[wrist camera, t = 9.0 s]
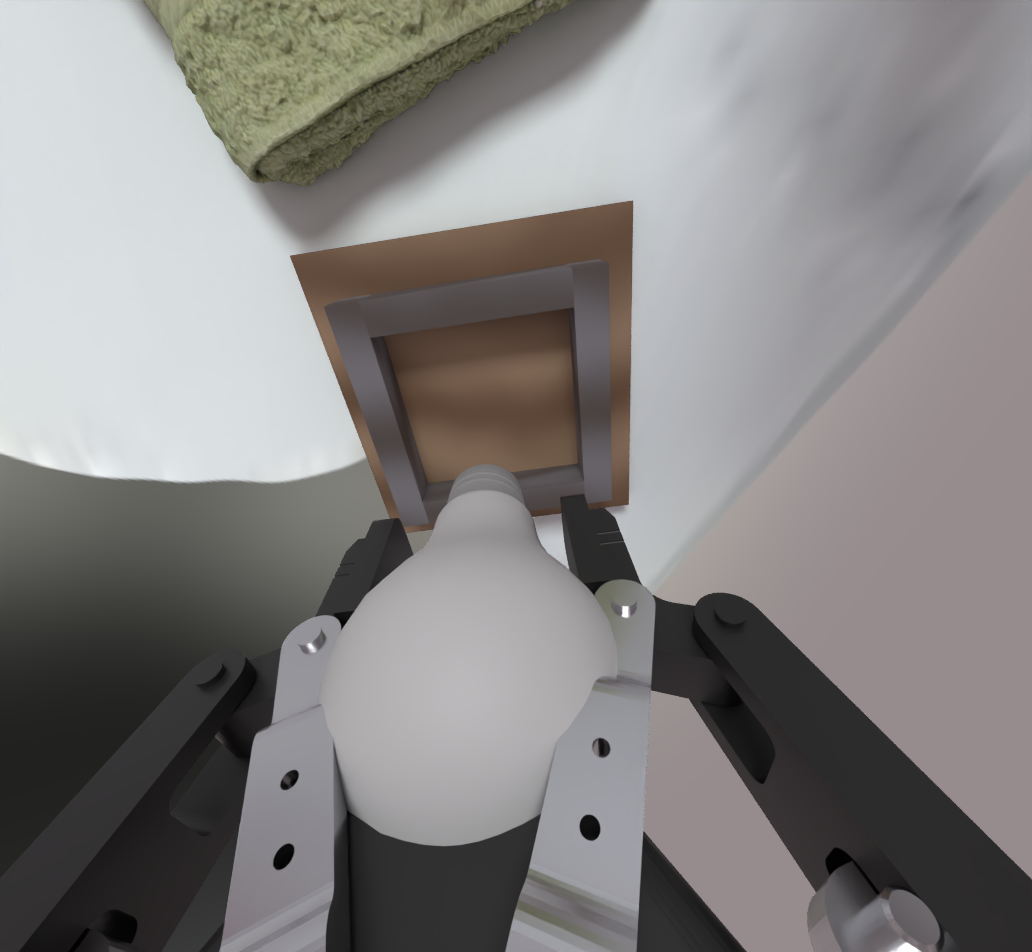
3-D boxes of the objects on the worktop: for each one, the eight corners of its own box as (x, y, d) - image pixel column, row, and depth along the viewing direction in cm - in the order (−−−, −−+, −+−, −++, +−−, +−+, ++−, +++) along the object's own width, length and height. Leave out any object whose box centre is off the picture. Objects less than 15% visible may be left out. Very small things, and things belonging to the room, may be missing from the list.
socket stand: (299, 254, 19) (267, 259, 16) (626, 201, 18) (647, 197, 15) (399, 524, 27) (388, 555, 24) (624, 495, 26) (637, 524, 24)
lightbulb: (392, 527, 16) (249, 949, 7) (419, 384, 13) (227, 785, 4) (537, 556, 17) (589, 951, 8) (593, 430, 14) (785, 828, 5)
